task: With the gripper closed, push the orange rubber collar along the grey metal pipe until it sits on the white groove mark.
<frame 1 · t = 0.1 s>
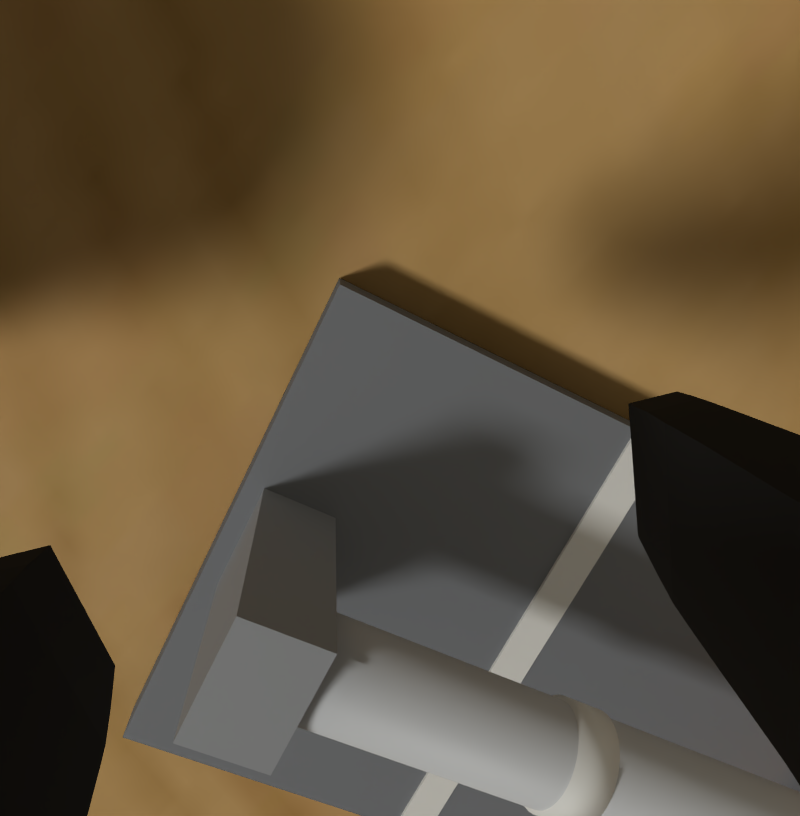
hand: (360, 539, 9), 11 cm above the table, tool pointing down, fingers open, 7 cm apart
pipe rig: (700, 701, 24), on the table
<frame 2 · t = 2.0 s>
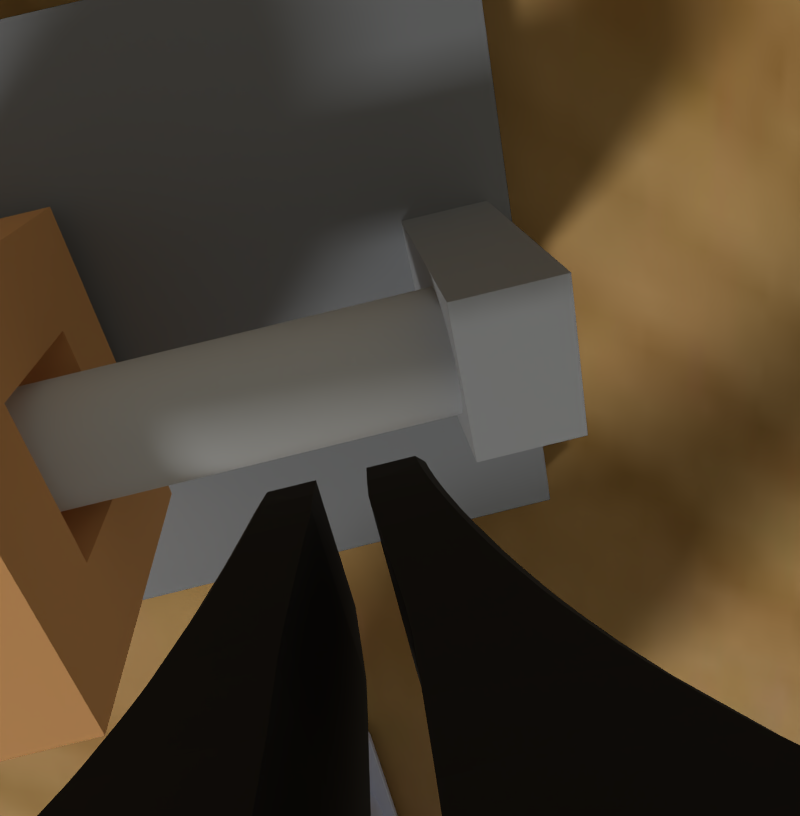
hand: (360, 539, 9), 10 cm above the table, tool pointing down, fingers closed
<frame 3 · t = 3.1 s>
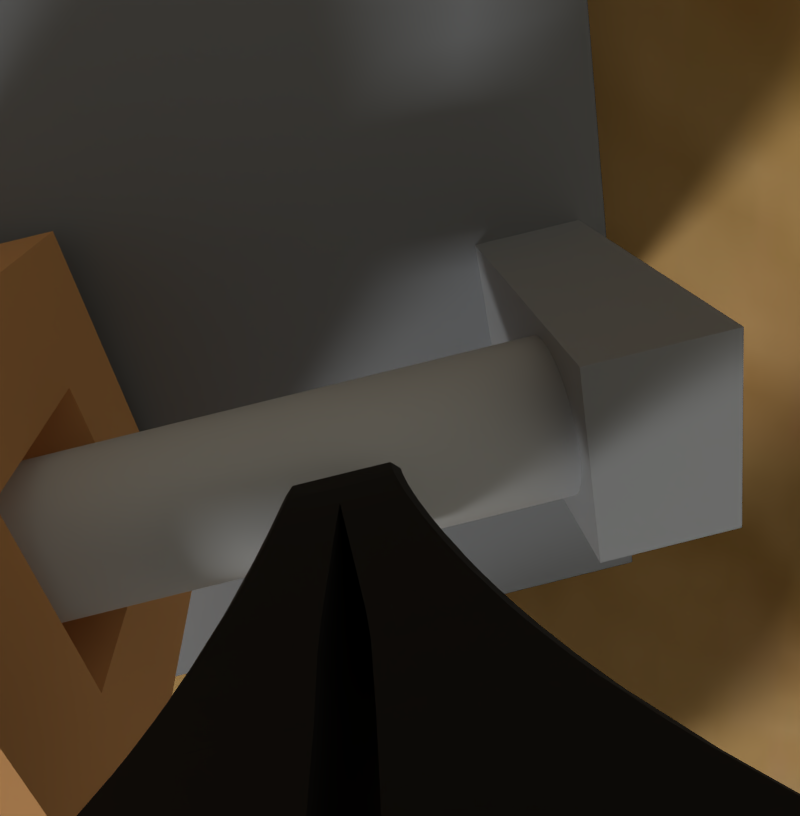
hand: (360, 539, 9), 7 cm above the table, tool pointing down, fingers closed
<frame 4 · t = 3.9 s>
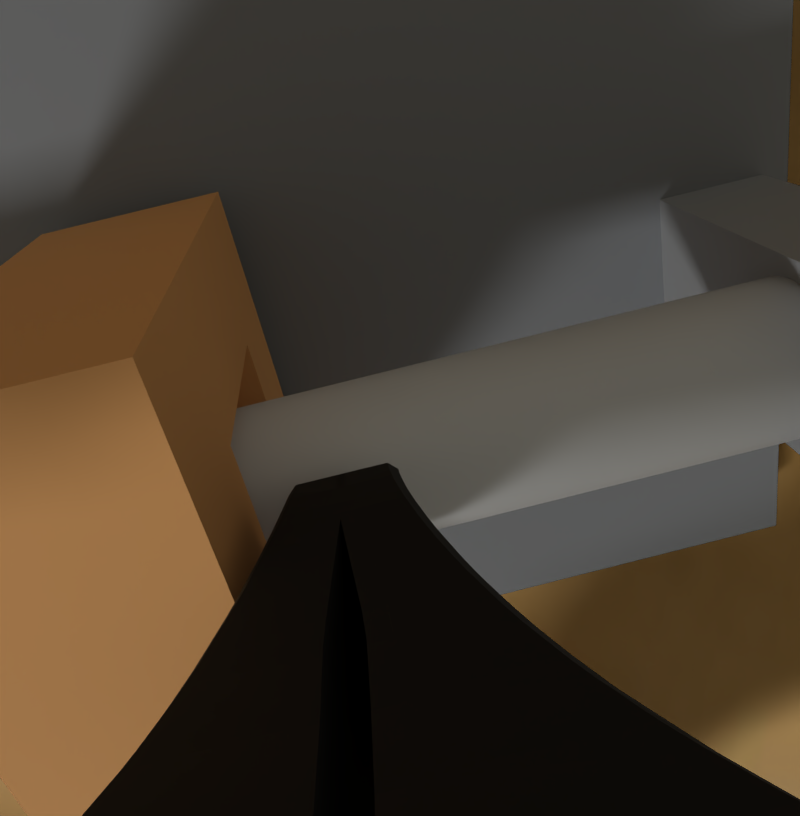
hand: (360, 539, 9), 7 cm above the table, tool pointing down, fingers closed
collar: (173, 509, 11), point 5 cm above the table, slide at 0.8 cm, touching gripper
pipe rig: (14, 412, 16), on the table
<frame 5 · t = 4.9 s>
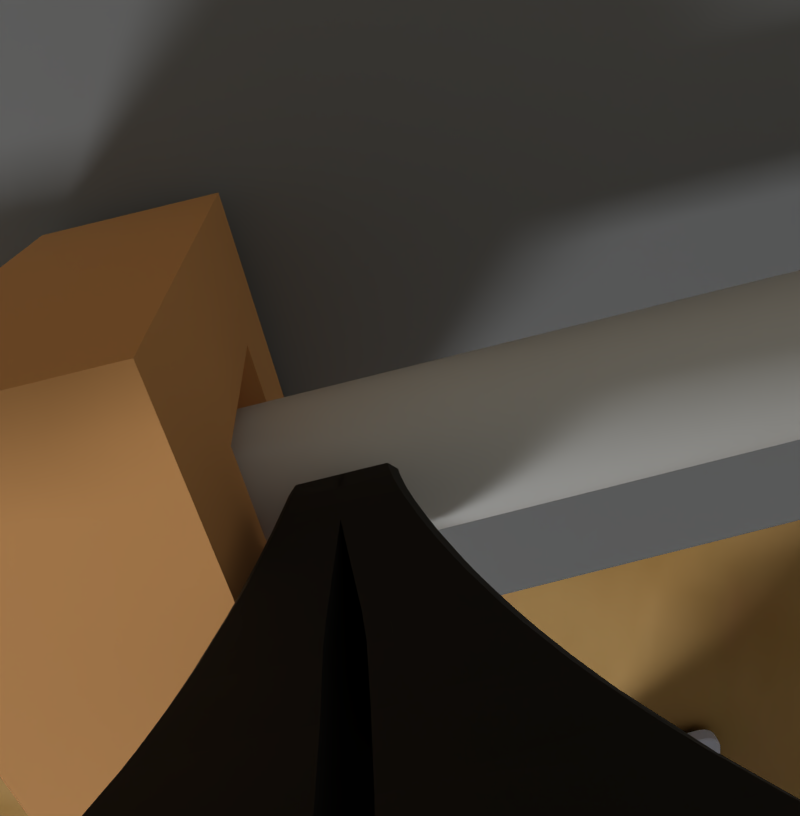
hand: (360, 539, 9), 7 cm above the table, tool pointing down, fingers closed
collar: (173, 509, 11), point 5 cm above the table, slide at 6.6 cm, touching gripper
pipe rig: (287, 345, 16), on the table
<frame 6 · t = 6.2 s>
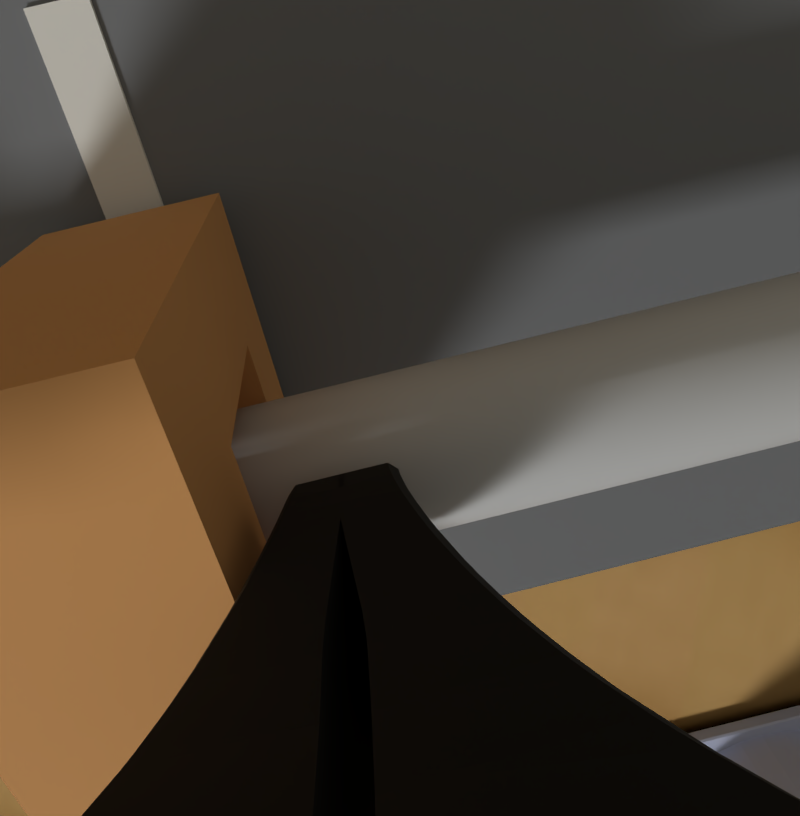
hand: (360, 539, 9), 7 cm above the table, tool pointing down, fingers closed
collar: (173, 509, 11), point 5 cm above the table, slide at 11.9 cm, touching gripper
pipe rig: (531, 286, 16), on the table
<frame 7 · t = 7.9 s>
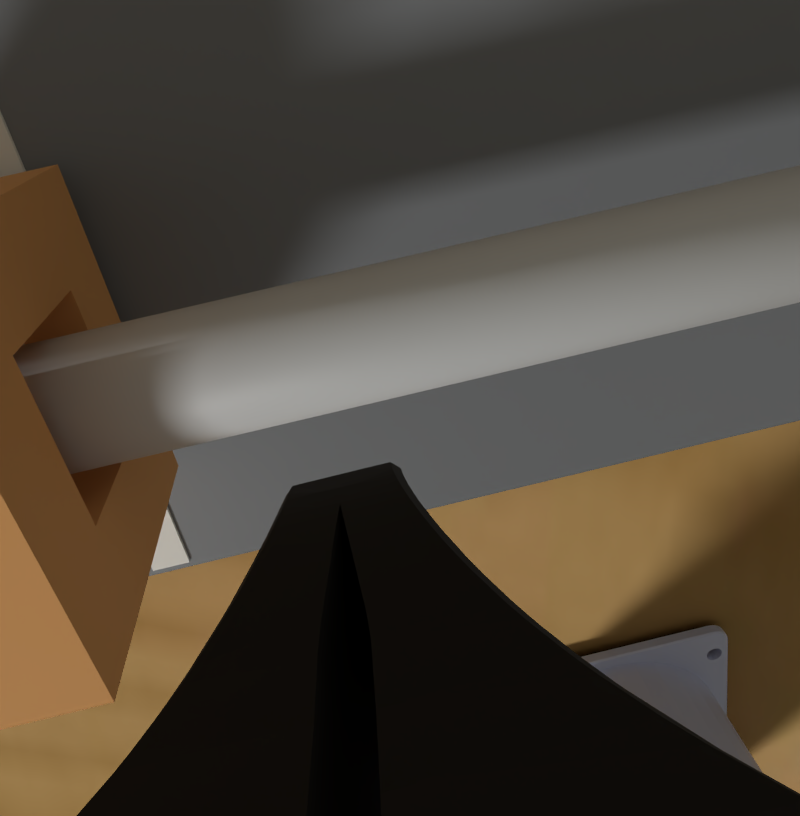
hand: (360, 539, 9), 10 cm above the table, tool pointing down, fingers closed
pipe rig: (366, 251, 18), on the table
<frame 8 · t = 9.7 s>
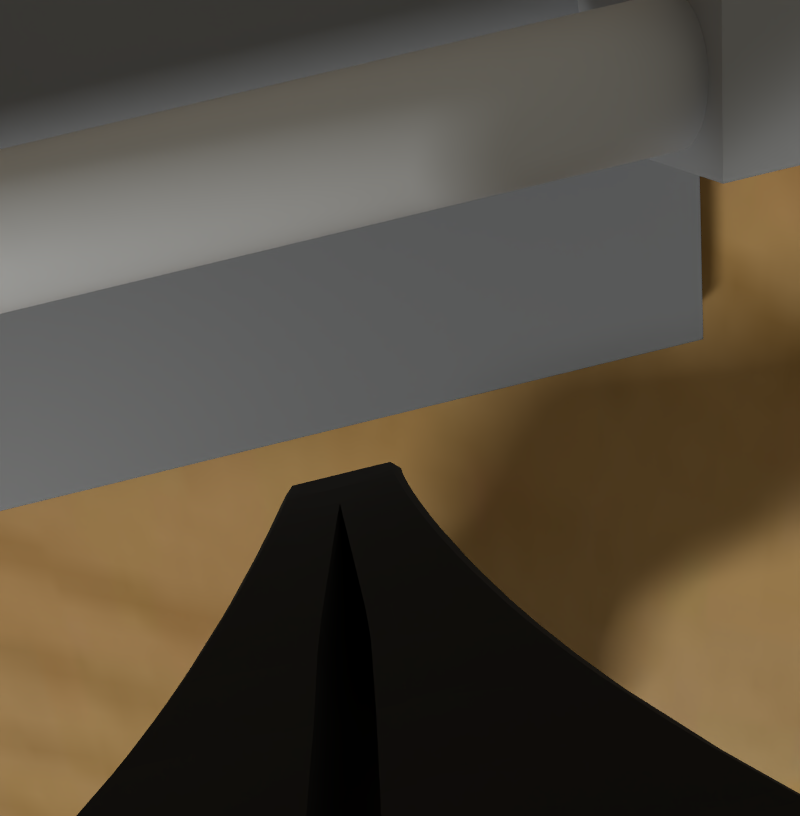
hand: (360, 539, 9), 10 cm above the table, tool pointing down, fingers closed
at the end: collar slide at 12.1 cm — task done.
